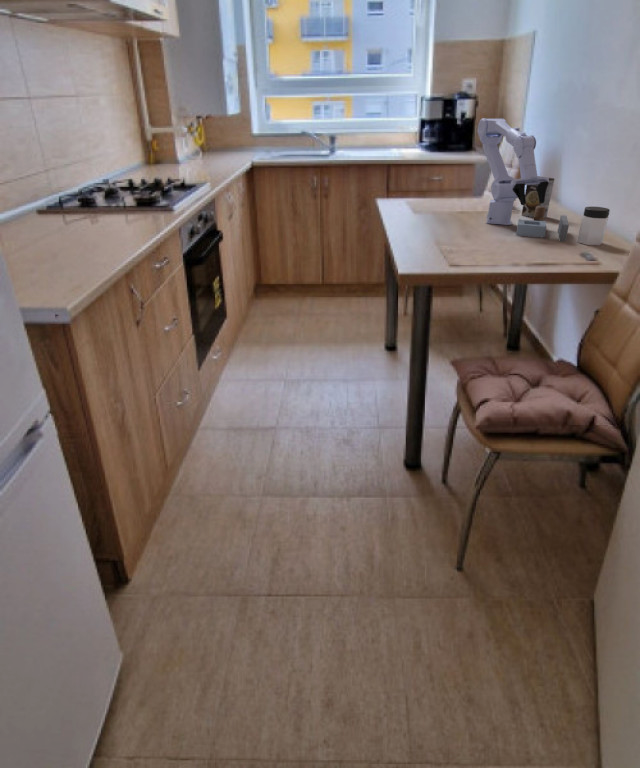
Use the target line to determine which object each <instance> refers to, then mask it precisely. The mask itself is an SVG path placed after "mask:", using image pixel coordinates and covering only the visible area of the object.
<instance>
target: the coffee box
mask: <svg viewBox="0 0 640 768" xmlns="http://www.w3.org/2000/svg"><path fill="white" fill-rule="evenodd" d="M537 177H541V176H539V175H537ZM554 182H555V178H553V177H549V184H548V187H547V189H546V193H545V202H544V203H542V204H540V202H539V196H538V193H537V190H536V188H537V187H538V185H539V184H535V185H526V186H525V199H526V203H525V204H524V205H522V209H521V214H520V215H521V216H522V217H528V216H529V218H534V214H535V209H536V206H543V207H546V208H545V213H544V218H547V217H548V211H549V206H550V203H551V198H552V192H553V187H554Z"/></svg>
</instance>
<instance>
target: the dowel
mask: <svg viewBox="0 0 640 768" xmlns="http://www.w3.org/2000/svg"><path fill="white" fill-rule="evenodd" d="M545 208H546V207H543V206H536V209H535V214H534V217H533V220H534V221H544V218H545V217H544V213H545Z"/></svg>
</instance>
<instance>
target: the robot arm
mask: <svg viewBox="0 0 640 768" xmlns="http://www.w3.org/2000/svg"><path fill="white" fill-rule="evenodd" d="M520 129H521V128H520V127H518V126H517V127H511V126H510V125H509V124H508V122H507V120H506V119H504V118H503V117H500V118H485V117H483V118H481V119H480V120H479V122H478V126H477V135H478V138H479V140H480V143H482V148H483V151H484V154H485V157H486V160H487V162H488V165H489V168H490V171H491V174H492V176H493V179H494V180H493V181H492V183H491V186H490V188H491V196H492V198H493V199H490V201H489V207H488V213H487V215H486V224H491V225H492V224H493V225H502V226H504V225H505V226H511V225H512V215H513V209H514V202H516V200H517V199H518V200H519V203H520V205H521V206H523V205H524V204H525V203H526V199H525V192H526V186H527V185H535V184H539V185H538V187H537V188H536V190H537V193H538V196H539V202H540V204H542V203H544V202H545V193H546V189H547V187H548V184H549V178H550V177H547V176H546V177H545V176H540V177H537V176H538V171H537V164H536V155H535V149H536V146H537V139H536V137H535V135H527V134H526V132H523V131H521V130H520ZM503 136H504V137H505V140H506V142H507V143H508V144H509V145H510V146H511V147H513V148H512V149H513V151H514V153H515V156H516V158H517V159H518V164H519V165H518V166H519V172H520V178H514V177H513V176H511V175H509V173H508V171H507V168H506V165H505V163H504V160H503V157H502V155H501V151H500V149H499V146H498V144H500V143H502V139H503Z"/></svg>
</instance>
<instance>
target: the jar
mask: <svg viewBox="0 0 640 768" xmlns="http://www.w3.org/2000/svg"><path fill="white" fill-rule="evenodd" d="M610 212H611V211H610V209H609V207H603V206H586V207H585V208H584V211H583V215H582V217H581V222H580V225H579V230H578V235H577V239H576V242H577V243H580V244H583V245H586V246H601V245H602V244H603V241H604V238H605V233H606V230H607V229H606V228H607V226H608V225H607V224H608V221H609V216H610Z"/></svg>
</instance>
